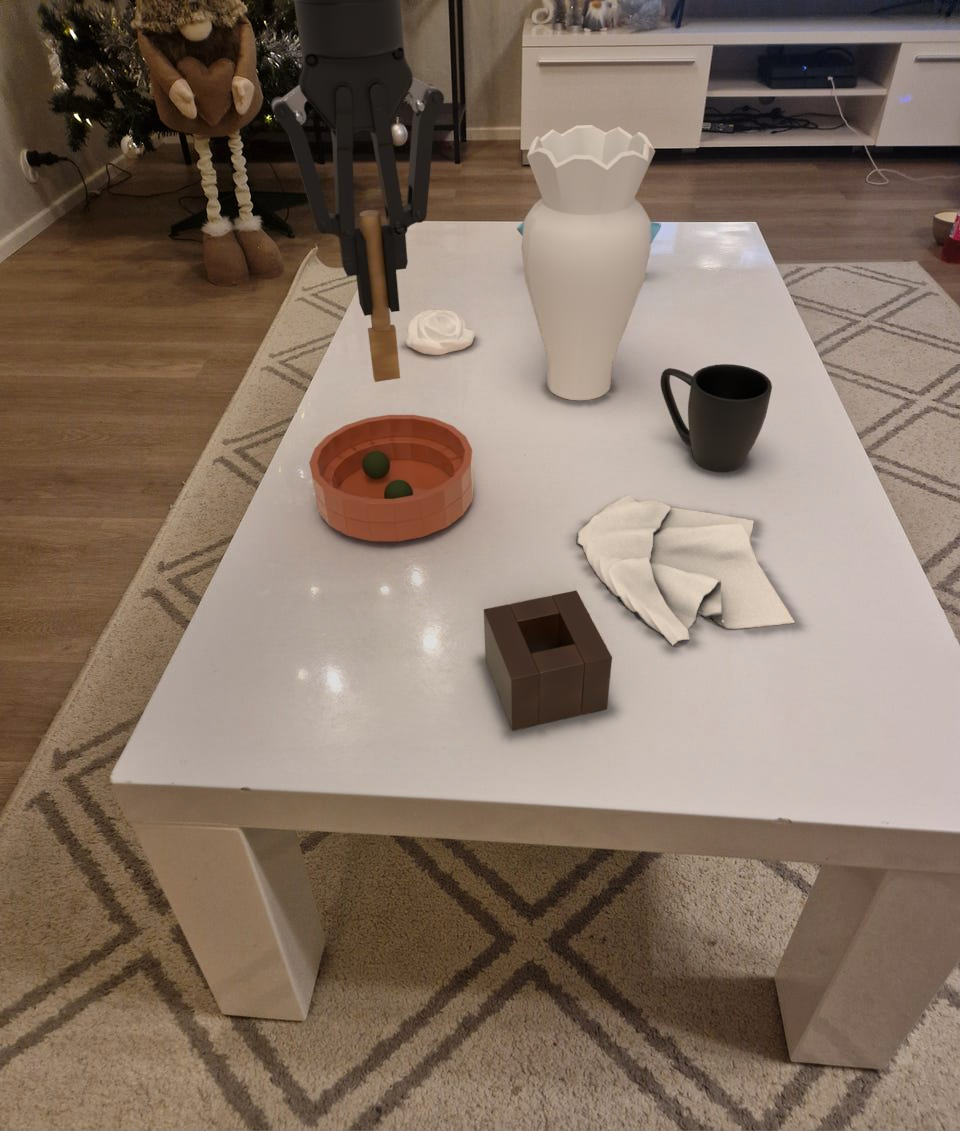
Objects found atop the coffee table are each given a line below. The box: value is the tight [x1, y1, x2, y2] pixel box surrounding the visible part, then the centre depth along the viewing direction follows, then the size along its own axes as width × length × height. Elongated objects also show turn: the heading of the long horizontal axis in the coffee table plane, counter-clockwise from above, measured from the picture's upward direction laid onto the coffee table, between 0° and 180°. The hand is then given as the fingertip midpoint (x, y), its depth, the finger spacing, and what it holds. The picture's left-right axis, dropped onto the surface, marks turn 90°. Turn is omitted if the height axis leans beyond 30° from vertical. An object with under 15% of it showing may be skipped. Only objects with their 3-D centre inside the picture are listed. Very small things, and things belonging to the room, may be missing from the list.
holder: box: [483, 589, 613, 732], centre depth 69 cm, size 8×8×6 cm
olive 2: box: [384, 480, 413, 499], centre depth 89 cm, size 3×3×3 cm
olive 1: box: [362, 451, 390, 479], centre depth 93 cm, size 3×3×3 cm
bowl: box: [308, 414, 475, 542], centre depth 90 cm, size 17×17×6 cm
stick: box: [359, 209, 401, 383], centre depth 75 cm, size 2×2×15 cm
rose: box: [405, 309, 476, 356], centre depth 119 cm, size 10×4×10 cm
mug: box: [660, 363, 773, 473], centre depth 94 cm, size 8×12×10 cm
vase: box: [521, 124, 656, 401], centre depth 100 cm, size 15×15×29 cm
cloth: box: [575, 495, 795, 646], centre depth 81 cm, size 20×22×2 cm
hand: (379, 306), depth 76 cm, fingers closed on stick, 2 cm apart
